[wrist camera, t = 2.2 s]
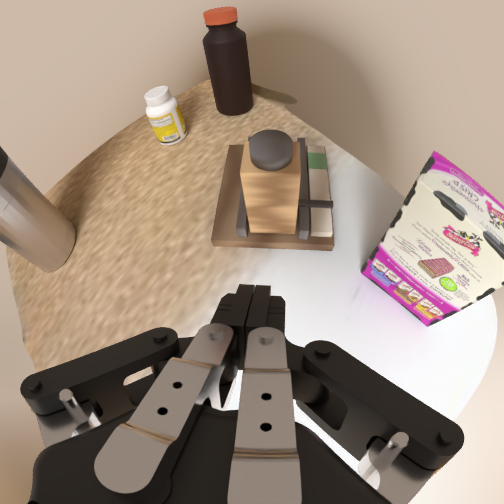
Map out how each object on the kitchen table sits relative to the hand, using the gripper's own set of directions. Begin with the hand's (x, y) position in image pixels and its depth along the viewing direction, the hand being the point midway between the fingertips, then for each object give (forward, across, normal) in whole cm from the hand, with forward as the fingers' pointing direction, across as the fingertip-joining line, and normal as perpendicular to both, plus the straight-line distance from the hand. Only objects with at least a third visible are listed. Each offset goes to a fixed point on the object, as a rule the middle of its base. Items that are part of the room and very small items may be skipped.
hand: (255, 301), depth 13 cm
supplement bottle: (+34, +18, -11) cm, 40 cm away
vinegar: (+39, +8, -17) cm, 43 cm away
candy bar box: (+16, -16, +6) cm, 24 cm away
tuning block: (+20, -2, 0) cm, 20 cm away
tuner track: (+24, 0, -2) cm, 24 cm away
